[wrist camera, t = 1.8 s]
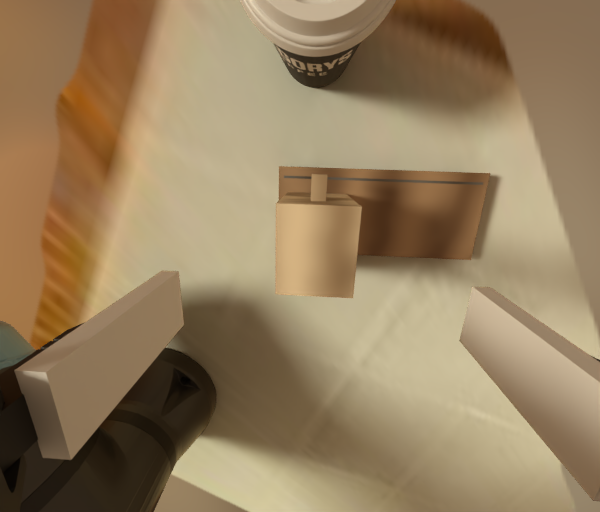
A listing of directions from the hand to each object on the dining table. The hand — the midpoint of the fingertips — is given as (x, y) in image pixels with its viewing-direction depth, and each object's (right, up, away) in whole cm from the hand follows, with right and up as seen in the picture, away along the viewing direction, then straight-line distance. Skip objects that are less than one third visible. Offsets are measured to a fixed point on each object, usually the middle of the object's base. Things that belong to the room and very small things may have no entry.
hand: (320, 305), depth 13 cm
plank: (+7, +7, +19) cm, 21 cm away
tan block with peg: (+1, +7, +19) cm, 20 cm away
